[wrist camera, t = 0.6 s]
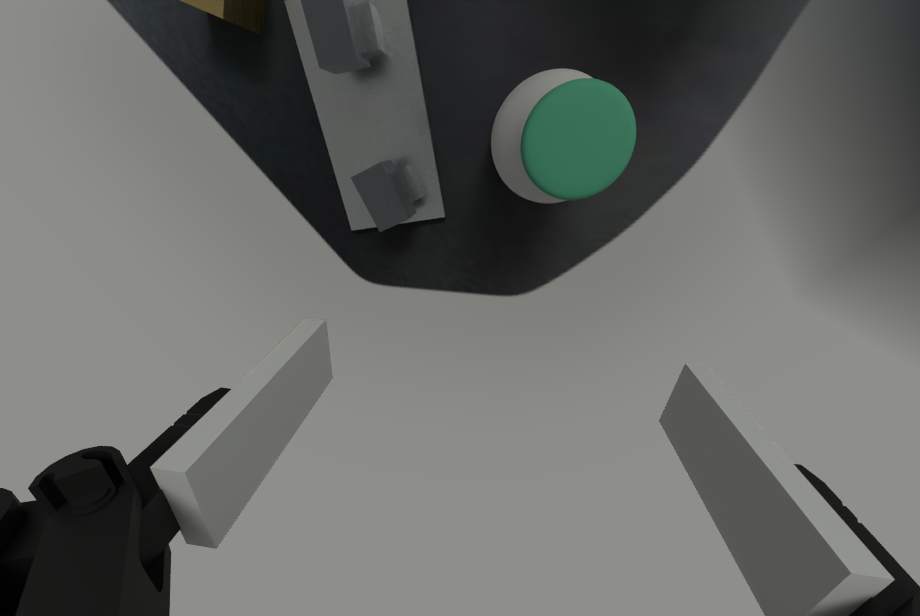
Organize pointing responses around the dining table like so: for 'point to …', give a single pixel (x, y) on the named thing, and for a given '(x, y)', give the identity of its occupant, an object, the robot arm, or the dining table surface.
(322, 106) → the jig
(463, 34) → the dining table surface
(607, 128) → the milk bottle
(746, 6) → the dining table surface
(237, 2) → the gold cube-like block
